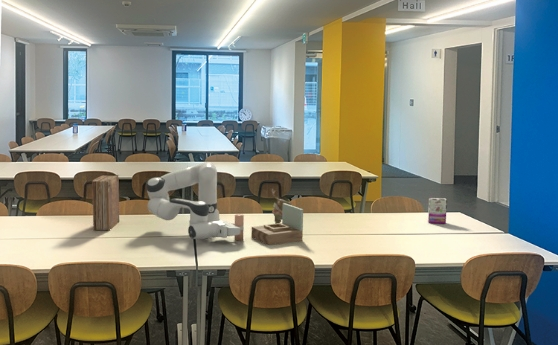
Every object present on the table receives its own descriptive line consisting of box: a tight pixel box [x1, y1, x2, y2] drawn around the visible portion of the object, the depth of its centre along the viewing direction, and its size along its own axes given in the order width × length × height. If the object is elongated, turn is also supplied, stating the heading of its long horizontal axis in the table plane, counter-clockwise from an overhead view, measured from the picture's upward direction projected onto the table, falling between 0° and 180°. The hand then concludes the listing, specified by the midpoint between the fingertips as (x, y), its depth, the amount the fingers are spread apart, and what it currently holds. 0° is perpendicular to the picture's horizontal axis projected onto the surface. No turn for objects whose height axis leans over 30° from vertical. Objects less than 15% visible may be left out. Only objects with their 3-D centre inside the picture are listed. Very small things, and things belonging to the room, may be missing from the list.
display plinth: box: [250, 203, 304, 246], centre depth 312 cm, size 20×22×18 cm
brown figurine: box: [271, 187, 292, 224], centre depth 337 cm, size 11×13×25 cm
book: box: [91, 174, 120, 232], centre depth 333 cm, size 25×9×30 cm, turn 3°
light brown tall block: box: [234, 213, 245, 242], centre depth 309 cm, size 5×5×14 cm
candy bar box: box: [427, 197, 448, 225], centre depth 362 cm, size 11×5×16 cm, turn 81°
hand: (240, 226), depth 309 cm, fingers closed on light brown tall block, 5 cm apart
